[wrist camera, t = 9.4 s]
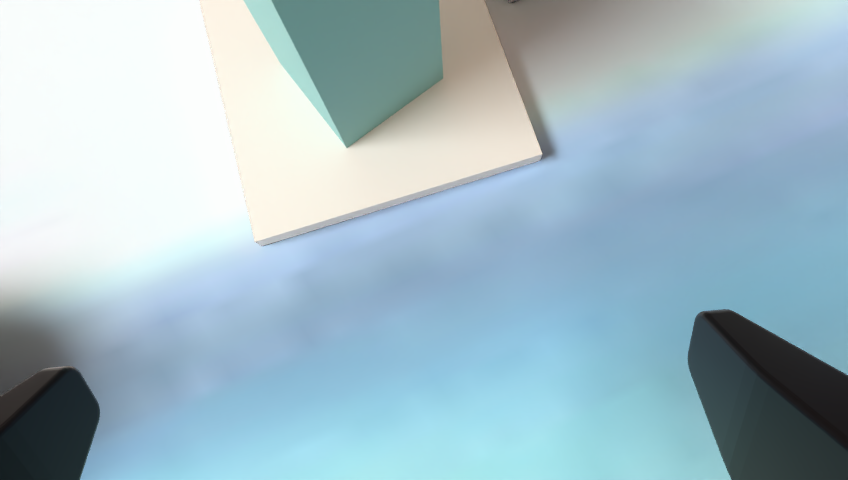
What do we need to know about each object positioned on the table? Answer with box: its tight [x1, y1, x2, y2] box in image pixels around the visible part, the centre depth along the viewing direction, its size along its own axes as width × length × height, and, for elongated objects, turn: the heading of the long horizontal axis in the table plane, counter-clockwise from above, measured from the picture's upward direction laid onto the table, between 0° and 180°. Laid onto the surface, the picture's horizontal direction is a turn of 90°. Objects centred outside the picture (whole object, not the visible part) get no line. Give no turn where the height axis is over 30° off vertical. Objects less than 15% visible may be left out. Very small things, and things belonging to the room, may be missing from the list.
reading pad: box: [199, 0, 542, 246], centre depth 24 cm, size 12×12×1 cm
